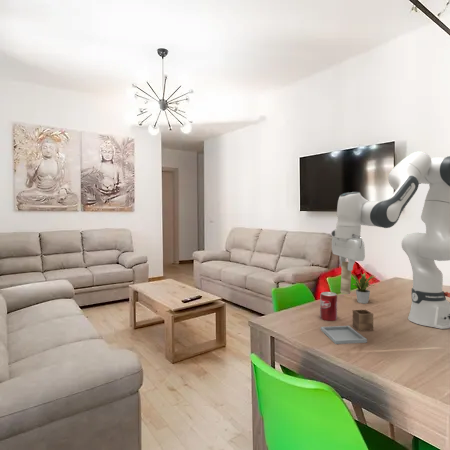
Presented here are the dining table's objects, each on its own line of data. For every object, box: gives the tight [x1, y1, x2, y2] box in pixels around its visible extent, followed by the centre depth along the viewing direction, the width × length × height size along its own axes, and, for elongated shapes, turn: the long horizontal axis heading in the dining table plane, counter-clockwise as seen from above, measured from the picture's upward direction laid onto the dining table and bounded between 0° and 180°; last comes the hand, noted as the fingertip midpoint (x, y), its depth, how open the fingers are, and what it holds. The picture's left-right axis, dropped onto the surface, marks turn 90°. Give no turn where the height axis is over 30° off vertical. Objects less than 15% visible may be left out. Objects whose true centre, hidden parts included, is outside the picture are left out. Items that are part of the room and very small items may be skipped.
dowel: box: [340, 261, 352, 295], centre depth 125 cm, size 4×4×12 cm
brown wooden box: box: [351, 309, 374, 332], centre depth 132 cm, size 6×6×8 cm
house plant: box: [351, 271, 375, 305], centre depth 170 cm, size 14×14×16 cm
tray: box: [320, 325, 368, 345], centre depth 124 cm, size 12×14×2 cm
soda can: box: [319, 291, 338, 322], centre depth 144 cm, size 7×7×12 cm
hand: (346, 269), depth 125 cm, fingers closed on dowel, 4 cm apart
